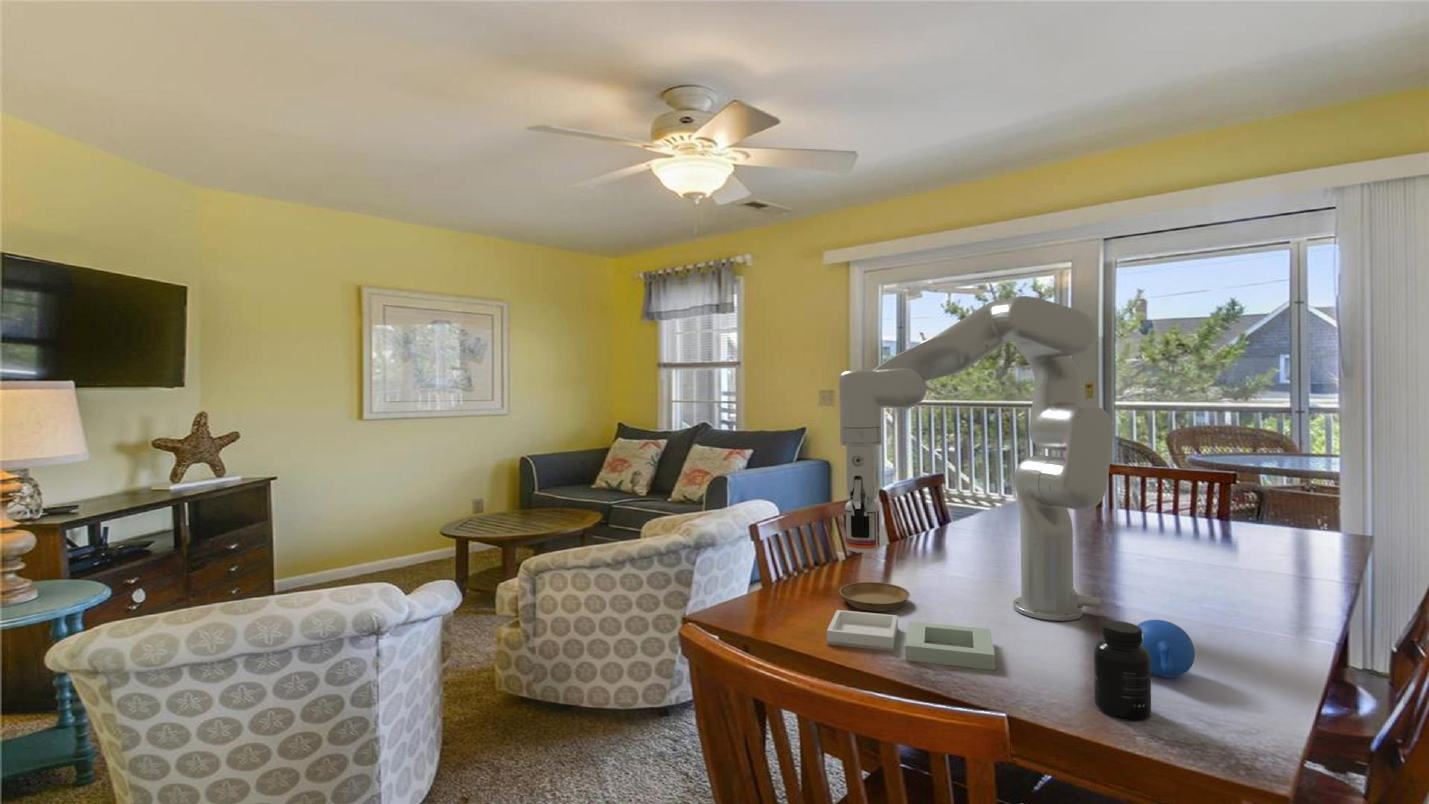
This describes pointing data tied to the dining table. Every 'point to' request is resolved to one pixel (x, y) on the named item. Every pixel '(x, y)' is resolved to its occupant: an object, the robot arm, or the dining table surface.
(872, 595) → the plant saucer
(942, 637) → the socket holder
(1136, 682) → the supplement bottle
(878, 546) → the pill bottle
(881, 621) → the tray
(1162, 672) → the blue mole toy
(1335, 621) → the dining table surface
